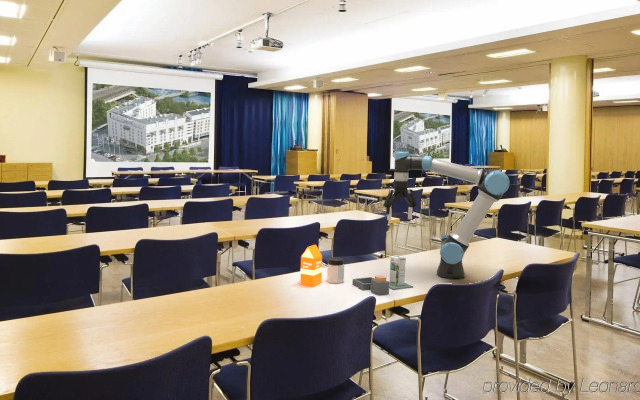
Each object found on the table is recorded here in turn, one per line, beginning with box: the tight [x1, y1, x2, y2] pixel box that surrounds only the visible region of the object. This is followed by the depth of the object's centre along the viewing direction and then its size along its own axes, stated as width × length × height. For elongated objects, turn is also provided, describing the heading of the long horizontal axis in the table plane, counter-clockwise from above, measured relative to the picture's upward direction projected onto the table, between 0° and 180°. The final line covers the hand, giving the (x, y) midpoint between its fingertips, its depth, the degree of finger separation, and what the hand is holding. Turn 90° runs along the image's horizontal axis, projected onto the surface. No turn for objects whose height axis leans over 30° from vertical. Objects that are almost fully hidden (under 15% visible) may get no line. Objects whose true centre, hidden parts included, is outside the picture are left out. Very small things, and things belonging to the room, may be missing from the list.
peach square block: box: [374, 275, 387, 282], centre depth 234 cm, size 4×4×4 cm
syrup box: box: [389, 254, 407, 286], centre depth 247 cm, size 6×6×14 cm
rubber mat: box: [389, 282, 414, 291], centre depth 248 cm, size 12×12×1 cm
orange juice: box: [300, 244, 323, 288], centre depth 246 cm, size 8×9×20 cm
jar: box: [326, 256, 345, 284], centre depth 252 cm, size 9×8×12 cm
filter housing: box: [352, 276, 390, 296], centre depth 240 cm, size 11×21×6 cm, turn 25°
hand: (399, 219), depth 261 cm, fingers open, 13 cm apart
